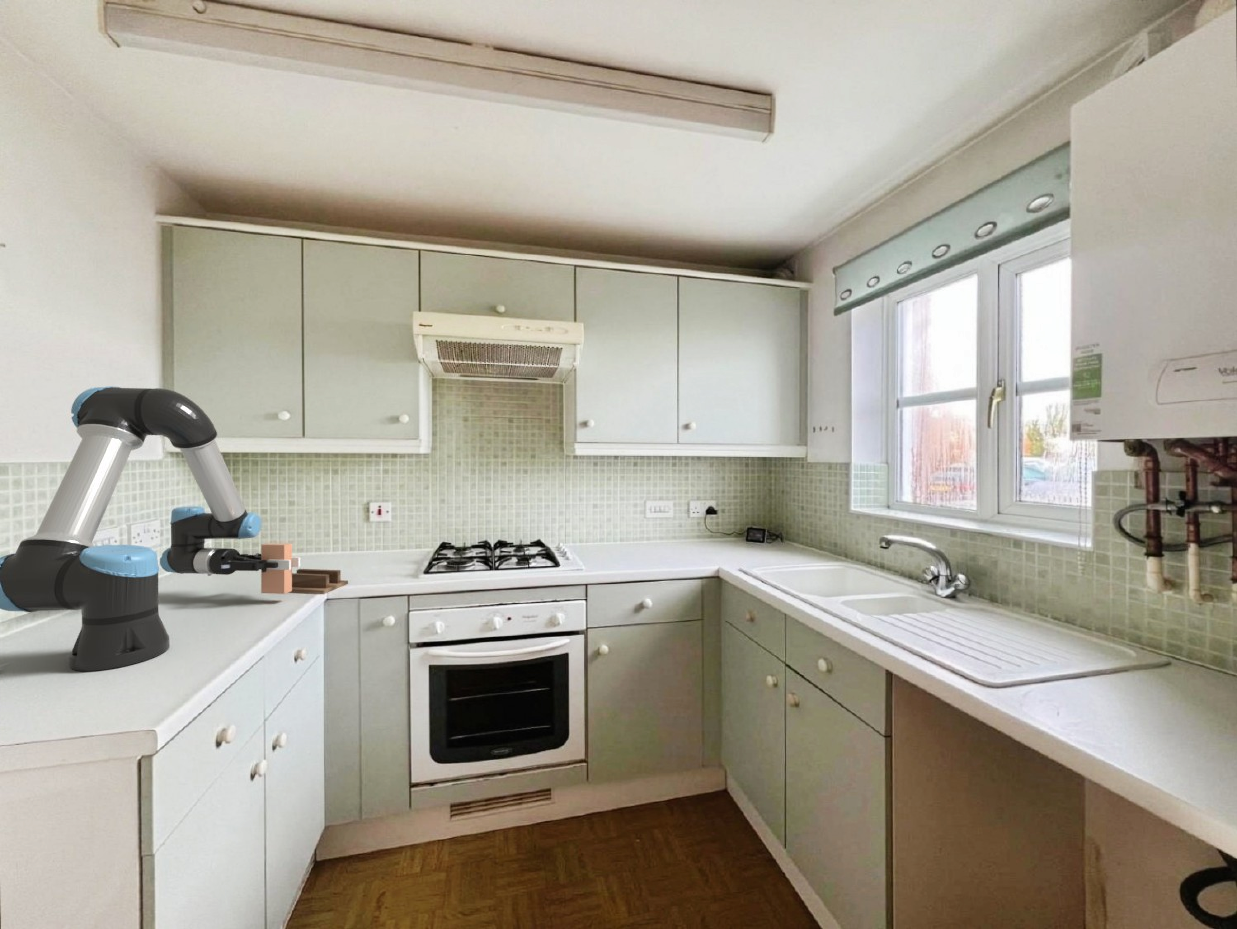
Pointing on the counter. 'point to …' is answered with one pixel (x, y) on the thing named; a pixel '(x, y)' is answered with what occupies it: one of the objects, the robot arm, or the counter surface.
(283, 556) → the salmon orange block
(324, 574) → the slot rack
